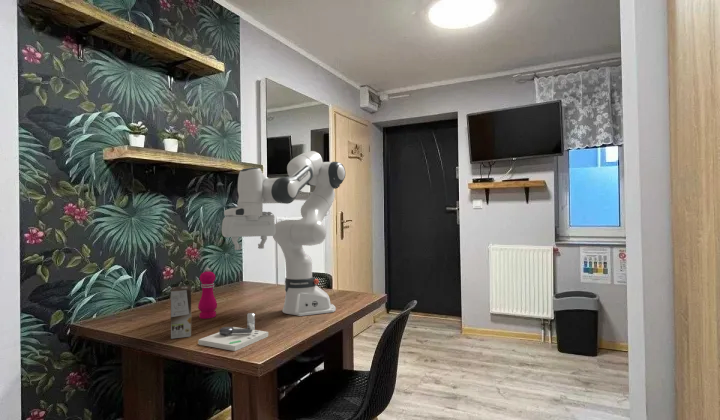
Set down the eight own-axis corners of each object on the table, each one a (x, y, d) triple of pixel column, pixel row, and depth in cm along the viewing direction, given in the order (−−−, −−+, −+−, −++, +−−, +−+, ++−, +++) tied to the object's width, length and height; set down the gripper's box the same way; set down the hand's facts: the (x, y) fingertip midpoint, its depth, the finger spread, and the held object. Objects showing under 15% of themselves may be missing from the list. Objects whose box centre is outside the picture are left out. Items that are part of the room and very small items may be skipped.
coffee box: (191, 336, 131) (191, 289, 131) (170, 339, 128) (170, 290, 129) (191, 329, 139) (191, 285, 140) (171, 332, 137) (171, 286, 137)
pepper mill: (220, 314, 161) (220, 266, 161) (212, 319, 153) (211, 268, 154) (203, 314, 161) (203, 266, 162) (194, 318, 154) (194, 268, 155)
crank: (217, 335, 125) (217, 316, 125) (221, 331, 130) (221, 313, 130) (253, 333, 126) (253, 315, 126) (256, 329, 131) (255, 312, 131)
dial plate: (233, 331, 137) (233, 326, 137) (268, 336, 130) (268, 331, 130) (198, 344, 123) (198, 339, 123) (235, 351, 116) (235, 345, 116)
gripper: (269, 212, 151) (269, 247, 151) (219, 210, 136) (219, 250, 136) (278, 211, 147) (278, 248, 146) (228, 210, 132) (228, 251, 131)
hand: (249, 249), depth 141 cm, fingers open, 8 cm apart
